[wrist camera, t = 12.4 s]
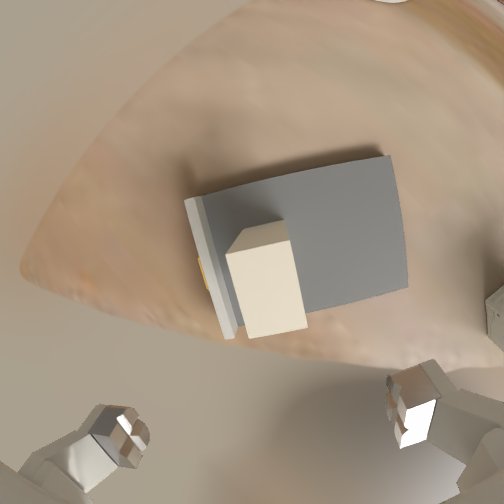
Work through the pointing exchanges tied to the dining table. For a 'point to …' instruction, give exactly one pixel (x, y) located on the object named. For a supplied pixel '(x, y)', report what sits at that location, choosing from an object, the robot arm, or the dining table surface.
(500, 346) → the supplement box
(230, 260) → the carton
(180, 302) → the dining table surface
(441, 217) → the dining table surface
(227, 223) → the grey panel white edge
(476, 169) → the dining table surface
